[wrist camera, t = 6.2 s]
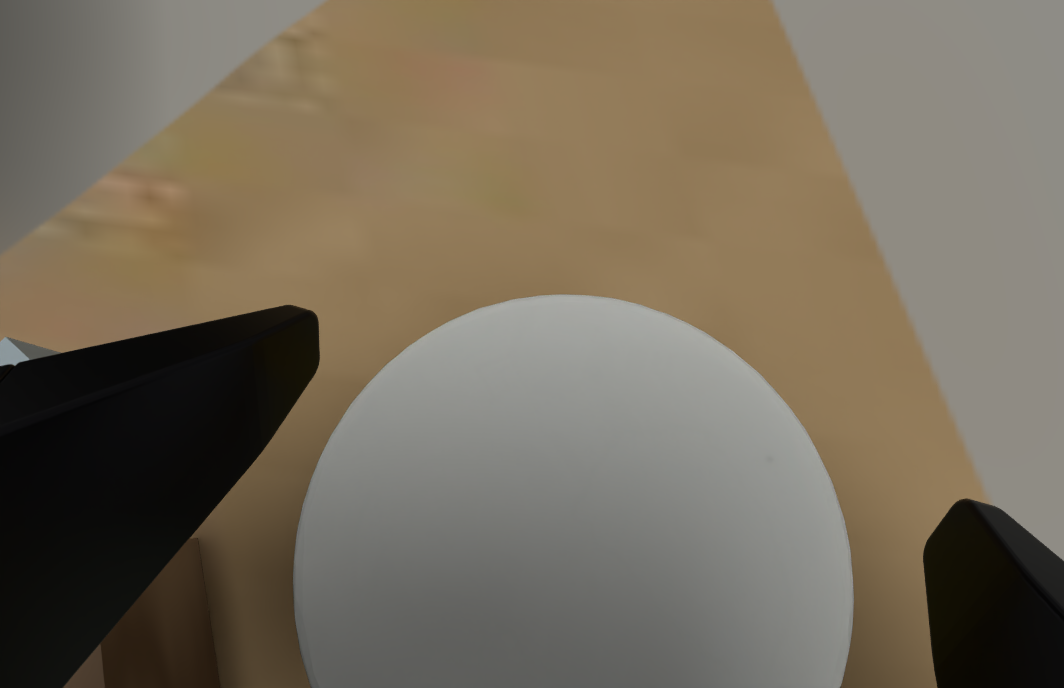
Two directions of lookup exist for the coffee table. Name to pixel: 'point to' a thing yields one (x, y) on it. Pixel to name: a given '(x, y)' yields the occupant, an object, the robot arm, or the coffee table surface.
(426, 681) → the pill bottle
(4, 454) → the robot arm
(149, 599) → the walnut block
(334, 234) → the coffee table surface
